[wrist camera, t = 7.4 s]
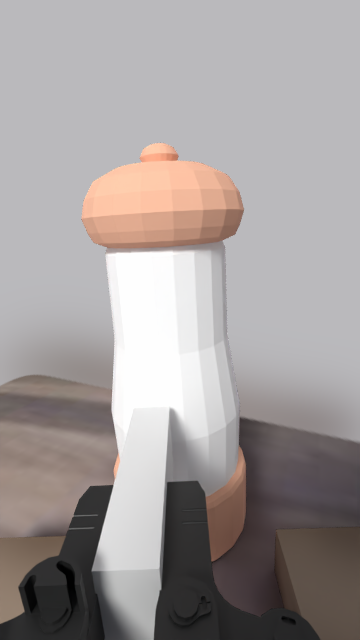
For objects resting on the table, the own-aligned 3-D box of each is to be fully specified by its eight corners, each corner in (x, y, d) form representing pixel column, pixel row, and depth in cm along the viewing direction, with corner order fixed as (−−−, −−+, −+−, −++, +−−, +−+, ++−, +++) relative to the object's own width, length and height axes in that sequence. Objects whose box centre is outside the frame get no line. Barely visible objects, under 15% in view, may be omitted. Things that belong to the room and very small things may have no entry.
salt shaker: (182, 605, 14) (144, 100, 9) (96, 510, 19) (37, 153, 14) (270, 503, 19) (281, 137, 14) (182, 448, 24) (164, 166, 19)
